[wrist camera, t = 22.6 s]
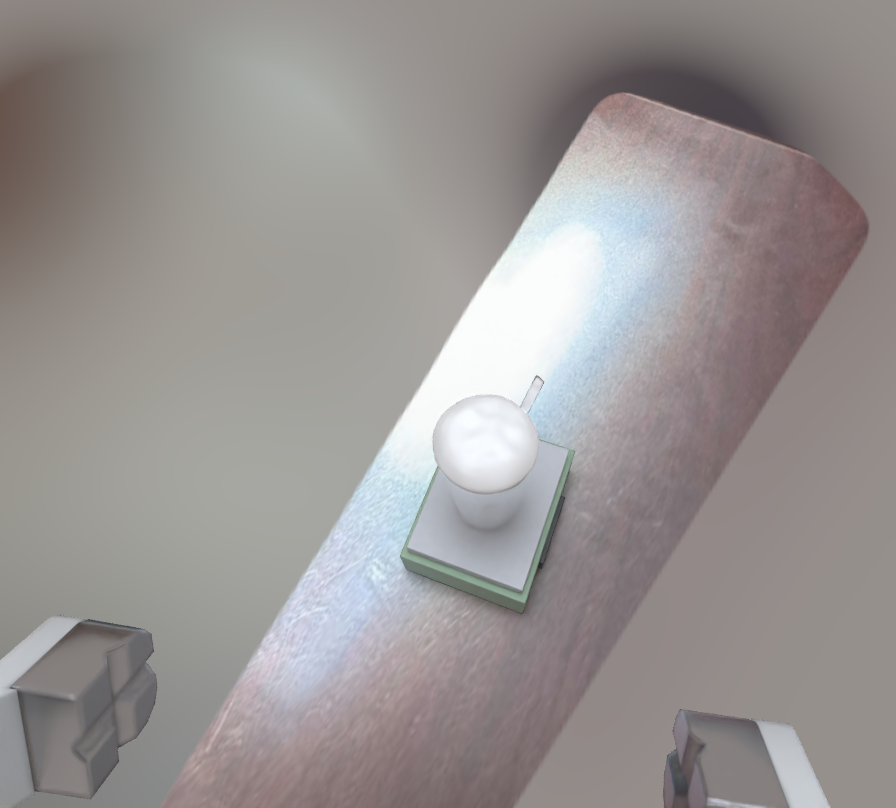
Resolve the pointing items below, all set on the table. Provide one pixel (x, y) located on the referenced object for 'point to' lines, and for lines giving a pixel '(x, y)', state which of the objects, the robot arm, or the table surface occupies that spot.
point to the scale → (490, 536)
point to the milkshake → (487, 455)
